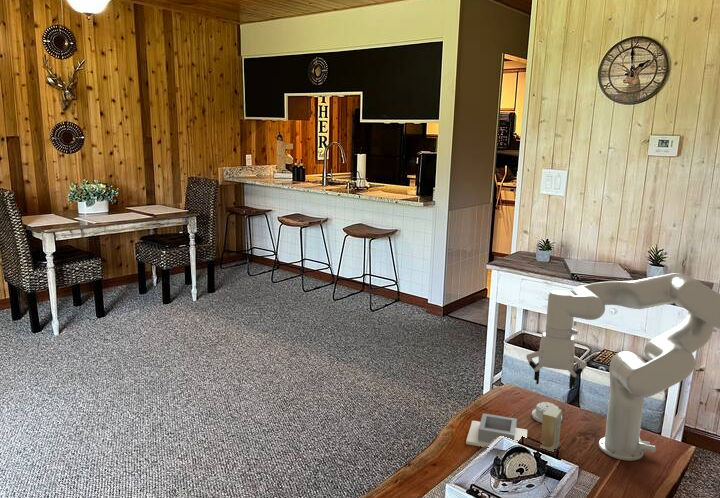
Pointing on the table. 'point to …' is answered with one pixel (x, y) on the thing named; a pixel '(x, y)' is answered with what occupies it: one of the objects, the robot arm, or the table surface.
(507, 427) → the square socket base
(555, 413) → the skincare box
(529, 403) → the table surface
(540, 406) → the mechanical component
